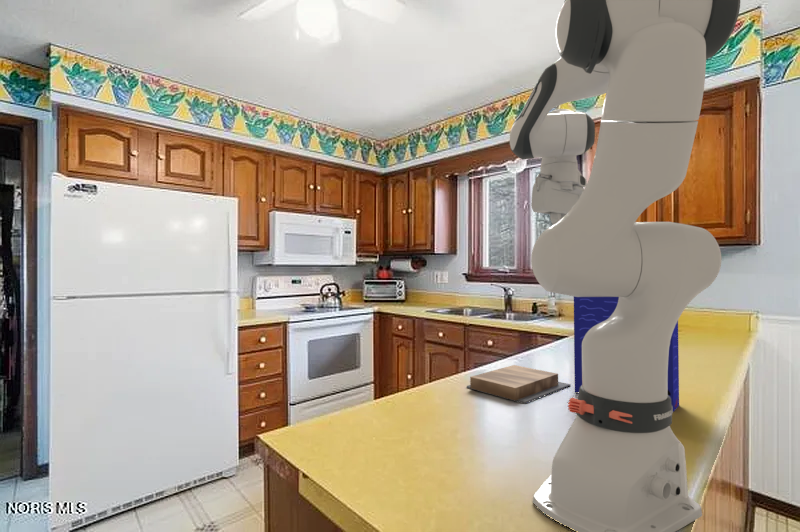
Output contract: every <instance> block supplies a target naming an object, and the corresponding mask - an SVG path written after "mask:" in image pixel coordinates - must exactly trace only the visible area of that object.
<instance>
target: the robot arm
mask: <svg viewBox="0 0 800 532" xmlns="http://www.w3.org/2000/svg"><path fill="white" fill-rule="evenodd" d="M740 9H741V0H564V2H563V5H562V6H561V8H560V11H559V14H558V16H557V19H556V26H555V40H556V44H557V48H558V49H557V51H558V54H559V56H560V58H558V59H557V60H556V61H555V62H554V63H552V64H550V65H548V66H547V67H546V68H545V69H544V70H543V71H542V73H541V75H540V77H539V78H538V80H537V81H536V84H535V85H534V88H533V90H532V91H531V93H530V95H529V97H528V99H527V101H526V103H525V104H524V107H523V109H522V110H521V113H520V114H519V115H518V116H517V118H516V119H515V120H514V122H513V124H512V125H511V129H510V133H509V146H510V147H509V148H510V150H511V152H512V153H513V154H514V155H515V156H516V157H518V159H520V160H522V161H524V160H531V159H532V160H533V159H536V158H541V162H540V169H539V170H540V173H538V175H537V176H536V177H535V181H534V183H533V186H532V191H531V192H532V193H531V206H530V207H531V209H532V211H533V213H538V214H539V213H540V214H546V215H549V219H550V222H551V224H552V225H551V226H549V227H547V228H546V229H545V230H544V231H542V233H541V234H540V235H539V236H538V237H537V239H536V241H535V242H534V245H533V247H532V251H531V255H530V256H531V259H530V260H531V263H530V264H531V269H532V272H533V273H532V274H533V275H534V278H535V279H536V281H537V282H538V283H539V285H540V286H541V287H542V289H544V290H545V291H546V292H549V293H555V294H558V295H563V296H569V297H574V296H575V297H619V299H618V304H617V307H616V309H615V311H614V312H613V314H612V315H611V316H610V317H609V318H608V319H607V320H605V321H603V322H601V323H599V324H597V325H595V326H593V327H592V328H591V329H590V330H589V331H588V332H587V333H586V335H585V336H584V338H583V341H582V385H581V386H580V389H579V393H577V396H576V397H570V398H569V401H568V402H567V403H568V405H567V407H568V408H567V409H568V410H569V411H568V412H571V413H575V414H576V415H575V416H576V417H575V418H574V420H573V422H572V424H571V425H570V426H569V429H568V430H567V432H566V434H565V436H564V437H563V440H562V441H561V443H560V445H559V447H558V448H557V451H556V452H555V454H554V456H553V459H552V464H551V471H550V472H551V473H550V474H549V476H548V477H547V478H546V479H545V480H544V481H543V483H542V484H541V485H540V486H539V487H538V488H537V490H536V491H535V492H534V494H533V495H532V504H533V503H534V504H535V505H536V506H537V507H538V508H539V509H540V510H541V511H542V512H544V513H545V514H547V515H549V516H550V517H552V518H553V519H555V520H557V521H559V522H560V523H562V524H563V525H566V526H568V527H570V528H572V529H574V530H575V531H578V532H677V531H679V530H680V529H682V528H684V527H685V526H688V525H689V524H691V523H692V522H694V521H696V520H698V519H699V518H701V517H702V516H703V512H702V506H701V504H700V503H698V502H697V501H695V500H694V499H693V498H691V497H690V496H689V489H688V487H689V486H688V475H687V474H688V473H687V462H686V449H685V447H684V445H683V443H682V442H681V441H680V440H679V439H678V437H677V436H676V435H675V433H674V432H673V430H672V427H671V425H672V423H673V413H674V412H673V408H672V405H671V398H670V396H669V395H668V357H669V346H670V340H671V336H672V333H673V330H674V328H675V325H676V323H677V321H678V322H679V319H680V317H681V315H682V314H683V312H684V311H685V309H686V308H687V306H688V305H689V304H690V303H691V302H692V301H693V300H694V299H695V298H696V297H697V296H699V294H701V293H702V292H704V291H705V290H706V289H708V288H710V287H711V285H712V284H713V283H714V282H715V280H716V279H717V278H718V275H719V273H720V270H721V268H722V267H721V266H722V252H721V251H722V250H721V248H720V245H719V243H718V242H717V240H716V237H715V236H713V235H714V234H712V233H711V232H710V231H708V229H705V228H703V227H699V226H695V225H690V224H685V223H679V222H672V221H643V222H642V221H637V220H638V218H639V217H640V216H641V214H642V213H644V211H645V210H646V209H647V208H649V206H651V205H652V204H654V203H655V202H657V201H658V200H661V199H662V198H665V197H666V196H668V195H670V194H672V193H674V191H676V190H678V188H679V187H680V186H681V185H682V183H683V182H684V180H685V178H686V176H687V172H688V168H689V164H690V159H691V155H692V150H693V146H694V142H695V138H696V133H697V129H698V124H699V119H700V114H701V109H702V103H703V97H704V91H705V90H704V89H705V82H706V68H707V60H708V59H710V58H712V57H713V56H715V55H716V54H717V53H718V52H719V51H720V50H721V49H722V48H723V47H724V46H725V44H726V43H727V42H728V41H729V39H730V37H731V35H732V34H733V32H734V30H735V27H736V24H737V21H738V19H739V15H740ZM601 95H605V97H604V100H603V101H604V102H603V106H602V112H601V117H600V123H599V124H600V125H599V129H598V130H599V132H598V136H597V137H598V138H597V144H596V149H595V153H594V158H593V163H592V167H591V171H590V175H589V177H588V181H587V179H586V177H585V176H584V175H583V174H582V173H581V171H580V170H579V165H578V160H577V156H579V155H584V154H585V153H586V152H588V151H589V150H590V149H591V148H592V147H593V146H594V145H595V142H596V141H595V139H596V138H595V137H596V136H595V135H596V125H595V121H594V120H593V118H592V117H591V116H590V115H589V114H588V113H586V112H579V111H578V112H576V111H575V112H574V111H573V110H571V109H567V108H559V109H558V108H557V109H555V110H553V109H554V108H556V107H559V106H561V105H563V104H564V105H565V104H567V103H571V102H575V101H580V100H585V99H589V98H595V97H598V96H601ZM534 504H533V505H534ZM535 505H534V506H535ZM536 506H535V507H536ZM537 507H536V508H537ZM538 508H537V509H538ZM539 509H538V510H539ZM540 510H539V511H540ZM541 511H540V512H541ZM542 512H541V513H542ZM545 514H544V515H545Z"/></svg>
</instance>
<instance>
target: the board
mask: <svg viewBox="0 0 800 532" xmlns="http://www.w3.org/2000/svg"><path fill="white" fill-rule="evenodd" d="M558 382H559V373H557V372H552V371H546V370H541V369H536V368H531V367H525V366H522V365H521V366H520V365H515V364H512V365H508V366H505V367H501V368H498V369H494V370H490V371H487V372H483V373H480V374H476V375H472V376H470V381H469V383H470V384H469V385H470V388H472V389H471V390H473V389H475V390H474V391H477V390H479V391H478V392H480V391H483V392H482V393H484V392H486V393H485V394H488V393H490V394H489V395H491V394H494V395H493V396H495V395H497V396H496V397H499V396H501V397H500V398H502V397H505V398H504V399H506V398H508V399H507V400H509V399H512V400H511V401H513V400H518V399H521V398H524V397H527V396H529V395H532V394H535V393H537V392H540V391H543V390H546V389H548V388H551V387H554V386H556V385H558Z"/></svg>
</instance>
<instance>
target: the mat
mask: <svg viewBox="0 0 800 532" xmlns="http://www.w3.org/2000/svg"><path fill="white" fill-rule="evenodd" d="M568 386H570V387H571V384H570V383H566V382H561V381H558V385H556V386H554V387H551V388H548V389H546V390H543V391H540V392H537V393H535V394H532V395H529V396H527V397H524V398H521V399H518V400H514V402H517V401H518V403H520V402H522V403H521V404H524V403H526V404H528V403H530V402H529V401H531V402H533V401H532V400H534V399H536V400H538V399H537V398H539V397H541V398H543V397H542V396H544V395H546V396H548V395H547V394H549V393H552V392H554V393H556V392H555V391H557V392H559V391H561V390H560V389H562V390H564V389H563V388H565V387H567V388H569V387H568ZM466 389H470V390H474V391H478V392H481V393H485V394H488V395H491V394H490V393H486V392H483V391H479V390H475V389H472V388H470V384H469V385H466ZM565 389H566V388H565ZM558 390H559V391H558ZM552 394H553V393H552ZM492 395H493V396H496V397H499V398H503V399H506V400H509V401H513V400H512V399H508V398H505V397H501V396H497V395H494V394H492ZM549 395H550V394H549ZM544 397H545V396H544ZM539 399H540V398H539ZM534 401H535V400H534ZM527 402H528V403H527Z"/></svg>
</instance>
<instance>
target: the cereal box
mask: <svg viewBox="0 0 800 532" xmlns="http://www.w3.org/2000/svg"><path fill="white" fill-rule="evenodd" d="M618 299H619V297H575V296H573V342H574V343H573V350H574V352H573V353H574V354H573V357H574V360H573V361H574V393H575V392H579V389H580V386H581V385H582V341H583V338H584V336H585V335H586V333H587V332H588V331H589V330H590V329H591V328H592V327H593V326H595V325H597V324H599V323H601V322H603V321H605V320H607V319H608V318H609V317H610V316H611V315H612V314H613V312H614V311H615V309H616V307H617V304H618ZM679 357H680V356H679V320H678V321H677V323H676V325H675V328H674V330H673V333H672V336H671V340H670V346H669V357H668V395H669V396H670V398H671V405H672V408H673V413H674V412H675V411H676V410H677V409H678V407H679V406H680V369H679V367H680V366H679V364H680V363H679V361H680V360H679Z"/></svg>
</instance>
